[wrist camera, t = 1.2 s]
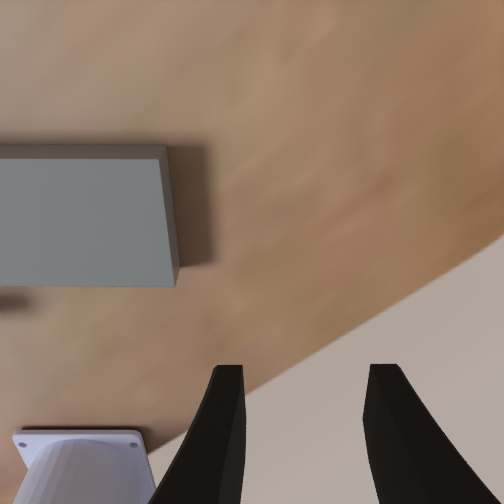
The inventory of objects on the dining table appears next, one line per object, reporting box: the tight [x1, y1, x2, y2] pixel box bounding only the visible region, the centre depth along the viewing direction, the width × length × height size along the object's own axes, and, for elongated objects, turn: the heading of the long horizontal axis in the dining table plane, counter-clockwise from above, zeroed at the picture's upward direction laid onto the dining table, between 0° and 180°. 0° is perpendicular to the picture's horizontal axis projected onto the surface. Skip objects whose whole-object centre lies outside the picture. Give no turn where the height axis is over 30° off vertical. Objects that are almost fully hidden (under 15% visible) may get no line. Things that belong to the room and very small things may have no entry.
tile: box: [0, 145, 180, 288], centre depth 20 cm, size 6×10×2 cm, turn 90°
